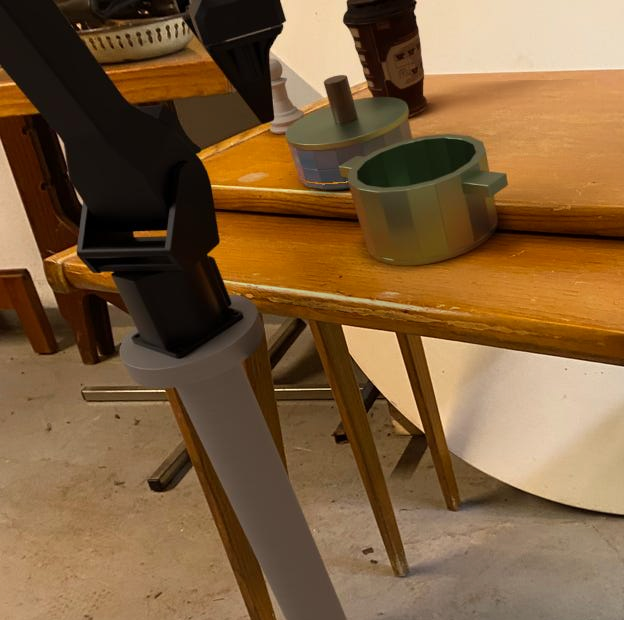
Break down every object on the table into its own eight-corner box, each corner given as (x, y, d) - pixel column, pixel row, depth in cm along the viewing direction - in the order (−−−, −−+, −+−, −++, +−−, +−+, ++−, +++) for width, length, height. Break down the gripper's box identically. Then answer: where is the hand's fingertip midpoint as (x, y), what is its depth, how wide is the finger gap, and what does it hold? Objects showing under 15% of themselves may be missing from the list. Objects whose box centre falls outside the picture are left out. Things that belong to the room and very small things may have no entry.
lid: (349, 161, 86) (334, 106, 83) (263, 150, 94) (246, 99, 90) (435, 111, 93) (424, 58, 90) (349, 105, 100) (335, 55, 97)
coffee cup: (451, 97, 109) (427, -23, 101) (419, 124, 103) (392, -1, 95) (389, 100, 112) (361, -16, 104) (355, 126, 107) (323, 6, 99)
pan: (360, 199, 89) (347, 154, 86) (278, 186, 96) (264, 144, 93) (440, 149, 96) (431, 106, 93) (358, 141, 103) (347, 100, 100)
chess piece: (309, 127, 110) (288, 58, 105) (271, 137, 110) (248, 68, 105) (307, 116, 114) (287, 49, 109) (270, 126, 113) (248, 59, 108)
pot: (465, 280, 72) (449, 202, 68) (320, 250, 81) (298, 180, 77) (549, 216, 78) (538, 141, 74) (405, 195, 88) (388, 128, 84)
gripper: (320, -131, 61) (378, 106, 71) (268, -137, 75) (322, 60, 85) (157, -88, 59) (240, 149, 69) (135, -104, 73) (207, 95, 83)
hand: (257, 108), depth 76 cm, fingers open, 9 cm apart
